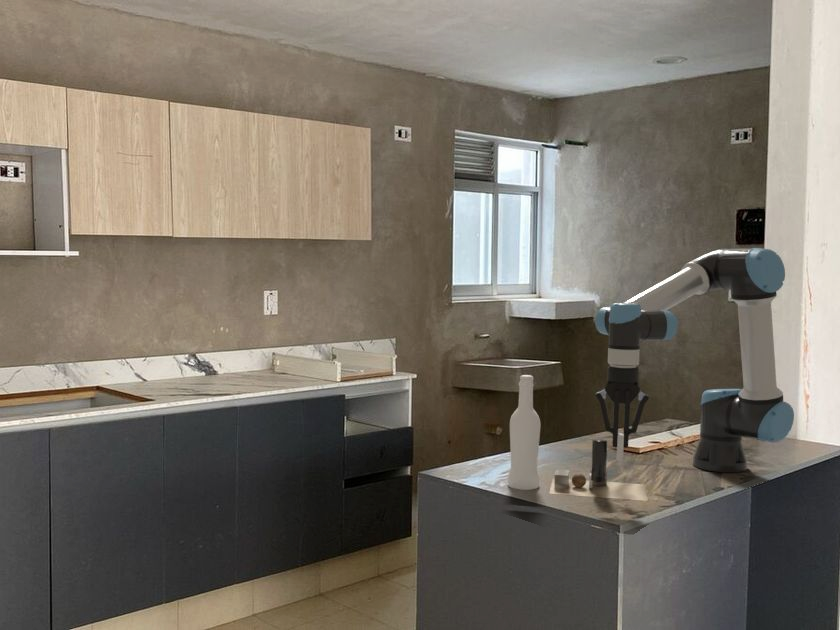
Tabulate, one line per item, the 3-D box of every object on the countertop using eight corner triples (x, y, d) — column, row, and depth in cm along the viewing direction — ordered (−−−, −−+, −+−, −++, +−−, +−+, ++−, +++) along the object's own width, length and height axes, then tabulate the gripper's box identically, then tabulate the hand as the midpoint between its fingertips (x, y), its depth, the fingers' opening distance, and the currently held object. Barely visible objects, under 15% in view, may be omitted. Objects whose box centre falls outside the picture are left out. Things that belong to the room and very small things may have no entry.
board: (644, 488, 225) (645, 470, 225) (647, 505, 210) (648, 486, 209) (552, 482, 230) (553, 464, 230) (549, 498, 215) (549, 479, 214)
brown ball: (585, 486, 222) (586, 472, 222) (585, 489, 219) (586, 475, 218) (571, 485, 223) (572, 471, 223) (571, 488, 219) (571, 474, 219)
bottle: (505, 485, 226) (508, 373, 224) (535, 485, 226) (538, 373, 224) (510, 494, 217) (513, 377, 216) (542, 494, 218) (545, 377, 216)
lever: (605, 481, 226) (606, 431, 225) (605, 496, 211) (607, 442, 210) (589, 480, 227) (591, 430, 226) (588, 495, 212) (590, 441, 211)
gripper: (649, 365, 213) (645, 458, 214) (596, 362, 215) (593, 455, 217) (651, 368, 205) (647, 465, 207) (596, 366, 208) (592, 461, 209)
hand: (619, 460), depth 212 cm, fingers closed
